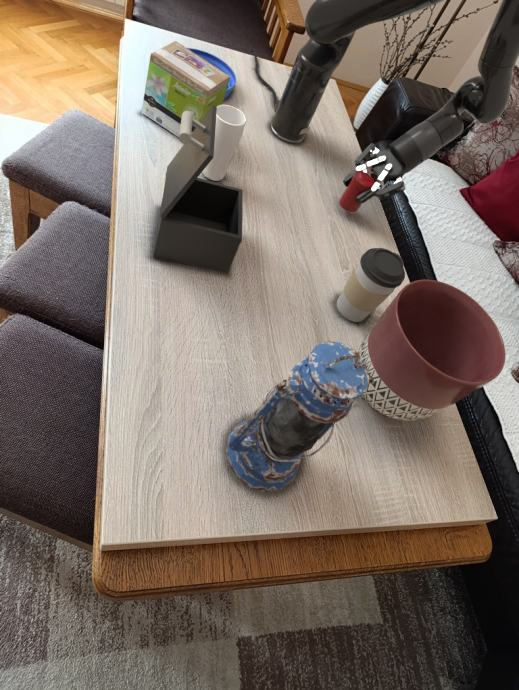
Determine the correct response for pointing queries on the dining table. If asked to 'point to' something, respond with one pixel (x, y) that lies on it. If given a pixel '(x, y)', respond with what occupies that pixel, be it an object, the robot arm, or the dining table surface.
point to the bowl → (220, 65)
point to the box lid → (189, 157)
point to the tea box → (181, 86)
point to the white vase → (225, 140)
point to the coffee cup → (370, 283)
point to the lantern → (296, 416)
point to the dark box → (202, 227)
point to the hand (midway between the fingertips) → (350, 192)
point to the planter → (429, 351)
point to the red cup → (355, 191)
